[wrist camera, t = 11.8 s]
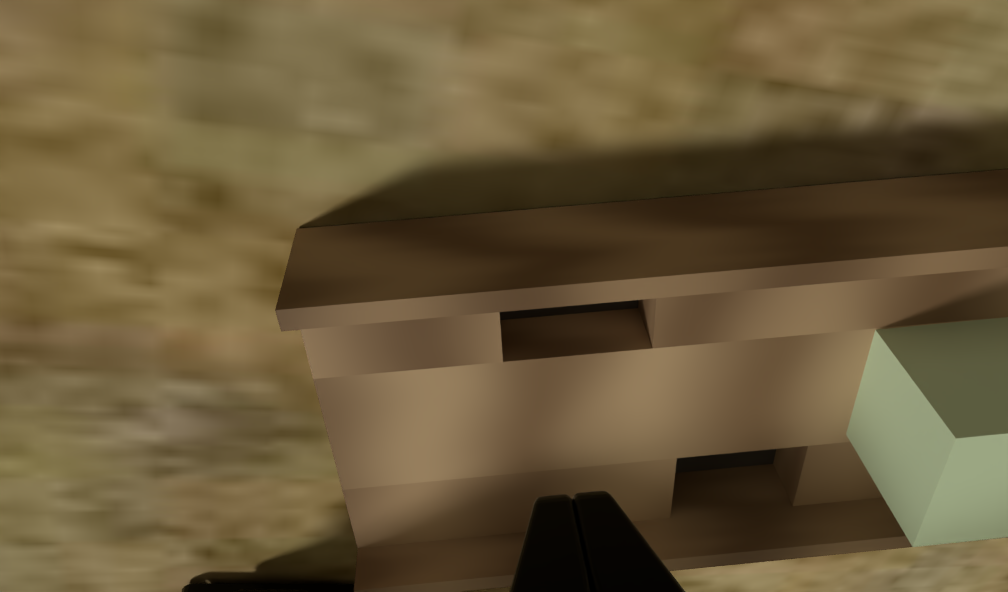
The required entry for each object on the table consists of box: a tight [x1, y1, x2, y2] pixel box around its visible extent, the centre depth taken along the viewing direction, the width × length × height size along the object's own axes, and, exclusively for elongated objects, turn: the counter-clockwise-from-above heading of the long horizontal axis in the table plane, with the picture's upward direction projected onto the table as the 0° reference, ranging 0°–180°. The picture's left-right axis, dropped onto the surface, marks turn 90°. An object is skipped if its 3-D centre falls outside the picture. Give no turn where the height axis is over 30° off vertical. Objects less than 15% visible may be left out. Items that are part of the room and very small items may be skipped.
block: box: [846, 317, 1008, 547], centre depth 21 cm, size 4×4×4 cm
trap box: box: [275, 169, 1008, 592], centre depth 22 cm, size 24×11×4 cm, turn 93°
